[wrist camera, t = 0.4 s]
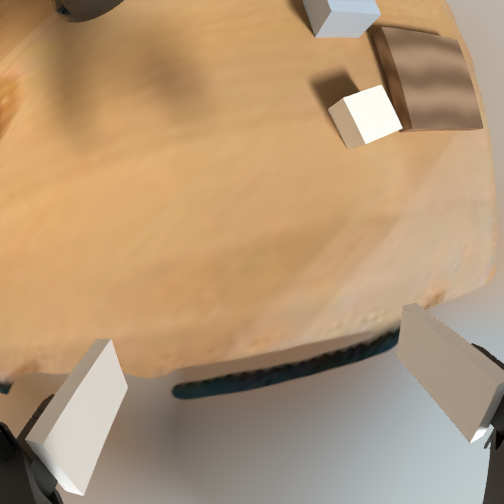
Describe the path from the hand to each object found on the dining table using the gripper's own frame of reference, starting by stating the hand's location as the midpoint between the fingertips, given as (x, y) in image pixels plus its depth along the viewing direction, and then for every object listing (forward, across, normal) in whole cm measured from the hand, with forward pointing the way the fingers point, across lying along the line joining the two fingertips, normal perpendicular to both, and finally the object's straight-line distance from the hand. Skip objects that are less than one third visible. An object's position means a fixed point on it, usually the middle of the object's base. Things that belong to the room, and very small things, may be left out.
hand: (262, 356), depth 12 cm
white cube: (+27, +17, +15) cm, 35 cm away
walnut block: (+28, +31, +22) cm, 47 cm away
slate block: (+28, +16, +32) cm, 45 cm away
